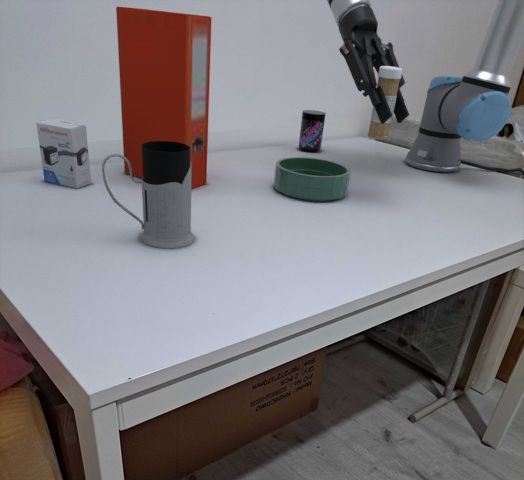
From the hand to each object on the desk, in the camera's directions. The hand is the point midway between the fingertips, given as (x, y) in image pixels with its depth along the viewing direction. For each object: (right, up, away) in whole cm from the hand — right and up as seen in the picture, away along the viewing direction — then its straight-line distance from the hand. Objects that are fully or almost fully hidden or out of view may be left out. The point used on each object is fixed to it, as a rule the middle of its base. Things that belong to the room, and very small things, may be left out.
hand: (395, 119), depth 107 cm
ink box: (-68, -12, +3) cm, 69 cm away
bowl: (-16, -11, +13) cm, 23 cm away
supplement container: (-13, +12, +49) cm, 52 cm away
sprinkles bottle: (-3, -2, +5) cm, 6 cm away
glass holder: (-46, -29, -18) cm, 57 cm away
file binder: (-49, -9, +12) cm, 51 cm away
